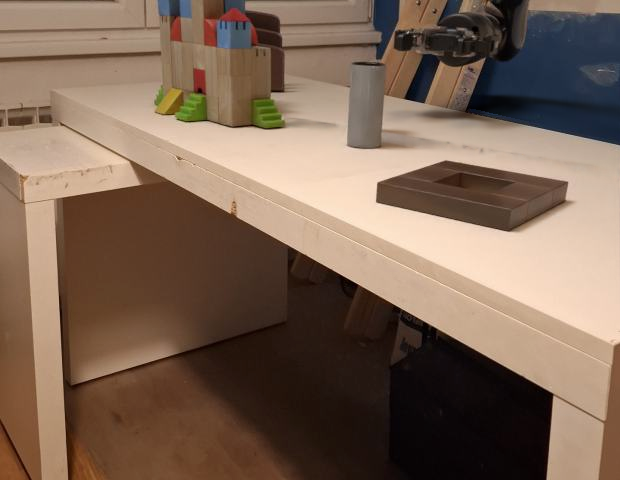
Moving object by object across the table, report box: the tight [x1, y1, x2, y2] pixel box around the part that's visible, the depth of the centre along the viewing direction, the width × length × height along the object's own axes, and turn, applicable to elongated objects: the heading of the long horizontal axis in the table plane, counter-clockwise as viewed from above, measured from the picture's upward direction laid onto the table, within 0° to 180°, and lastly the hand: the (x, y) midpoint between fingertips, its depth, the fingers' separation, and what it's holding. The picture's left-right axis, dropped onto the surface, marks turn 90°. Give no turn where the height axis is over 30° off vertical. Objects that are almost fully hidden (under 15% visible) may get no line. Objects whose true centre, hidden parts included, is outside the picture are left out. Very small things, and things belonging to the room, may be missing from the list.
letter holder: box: [245, 9, 286, 93], centre depth 145 cm, size 10×20×14 cm, turn 98°
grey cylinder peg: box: [346, 61, 387, 149], centre depth 99 cm, size 4×4×10 cm
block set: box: [153, 0, 286, 129], centre depth 115 cm, size 28×14×19 cm, turn 37°
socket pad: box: [375, 159, 569, 232], centre depth 76 cm, size 14×14×2 cm
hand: (429, 45), depth 102 cm, fingers open, 8 cm apart
